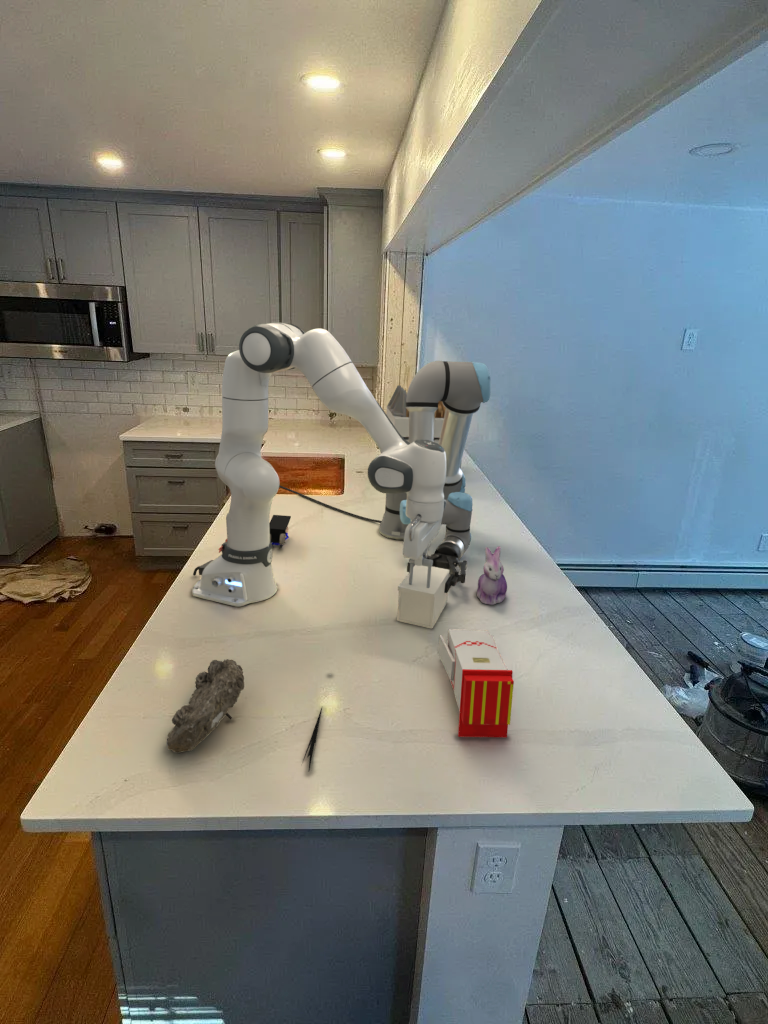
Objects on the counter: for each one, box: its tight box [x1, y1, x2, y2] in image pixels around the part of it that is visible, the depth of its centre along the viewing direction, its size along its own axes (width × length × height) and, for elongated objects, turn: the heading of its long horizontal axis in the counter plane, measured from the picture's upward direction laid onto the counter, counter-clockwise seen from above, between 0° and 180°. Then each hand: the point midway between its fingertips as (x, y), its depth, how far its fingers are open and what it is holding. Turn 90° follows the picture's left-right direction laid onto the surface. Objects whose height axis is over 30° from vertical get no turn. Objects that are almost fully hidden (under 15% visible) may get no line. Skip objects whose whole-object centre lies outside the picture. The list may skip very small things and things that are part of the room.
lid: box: [397, 559, 450, 598], centre depth 144 cm, size 15×9×9 cm, turn 159°
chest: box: [396, 574, 450, 630], centre depth 148 cm, size 14×9×9 cm, turn 159°
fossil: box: [166, 658, 245, 754], centre depth 106 cm, size 22×10×15 cm
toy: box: [437, 628, 515, 738], centre depth 117 cm, size 12×13×30 cm
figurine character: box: [269, 514, 292, 550], centre depth 187 cm, size 7×8×15 cm
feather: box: [301, 673, 332, 771], centre depth 108 cm, size 2×28×2 cm
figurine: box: [476, 545, 508, 605], centre depth 155 cm, size 9×10×15 cm
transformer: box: [385, 384, 463, 470], centre depth 268 cm, size 34×33×41 cm
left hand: (420, 562), depth 139 cm, fingers closed on lid, 2 cm apart
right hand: (427, 584), depth 150 cm, fingers closed on chest, 9 cm apart
